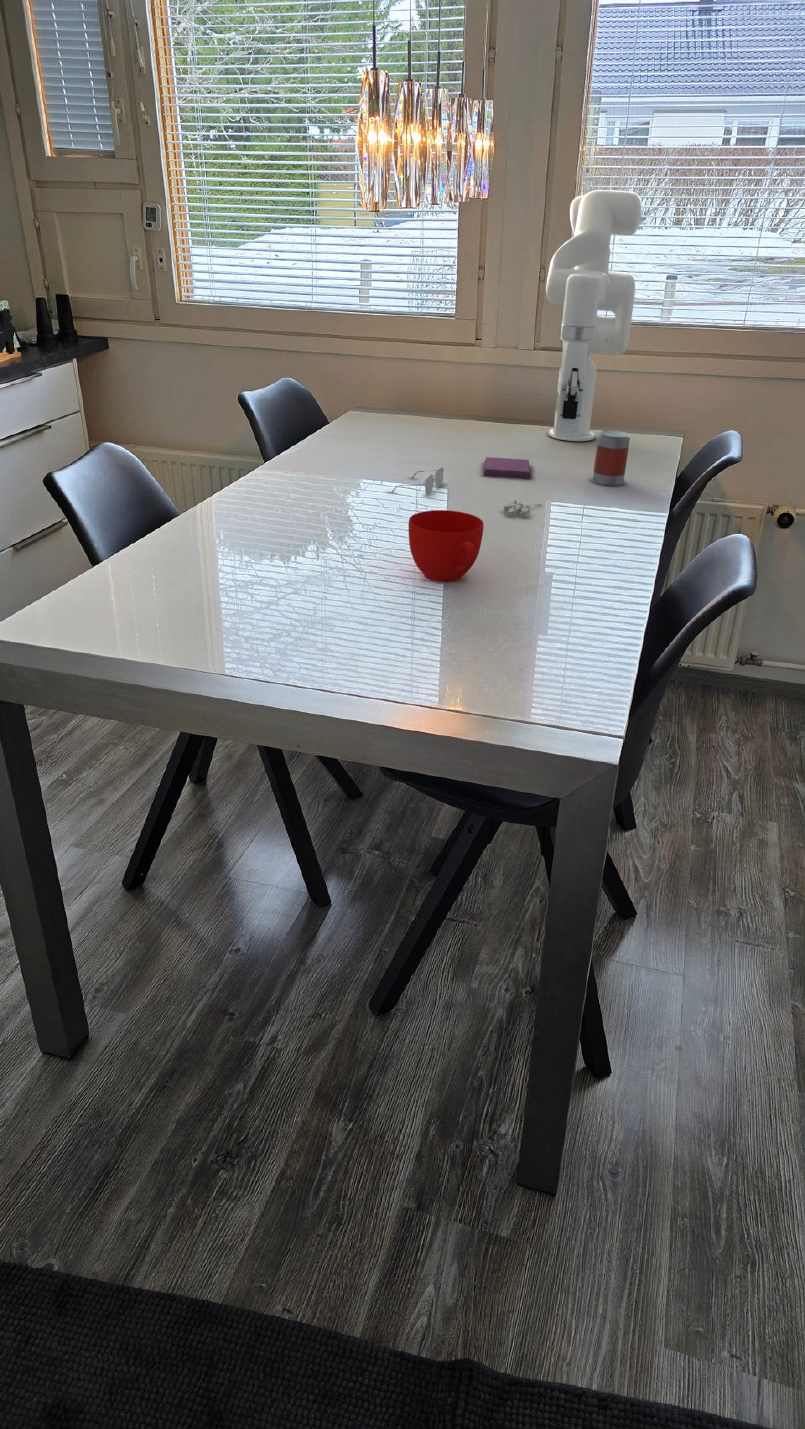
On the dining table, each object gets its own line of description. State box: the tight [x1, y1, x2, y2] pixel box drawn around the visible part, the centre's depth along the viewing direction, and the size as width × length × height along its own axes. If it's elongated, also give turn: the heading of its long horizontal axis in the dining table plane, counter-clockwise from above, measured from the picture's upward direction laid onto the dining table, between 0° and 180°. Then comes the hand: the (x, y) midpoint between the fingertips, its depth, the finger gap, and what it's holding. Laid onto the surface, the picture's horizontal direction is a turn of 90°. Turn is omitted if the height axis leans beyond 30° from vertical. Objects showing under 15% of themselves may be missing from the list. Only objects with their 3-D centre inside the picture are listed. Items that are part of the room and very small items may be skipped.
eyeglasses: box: [391, 467, 445, 496], centre depth 226 cm, size 14×8×4 cm, turn 160°
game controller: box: [503, 499, 541, 518], centre depth 213 cm, size 6×12×3 cm, turn 158°
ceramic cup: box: [408, 509, 485, 583], centre depth 173 cm, size 13×17×10 cm
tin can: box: [592, 430, 631, 487], centre depth 235 cm, size 7×7×11 cm
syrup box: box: [553, 368, 586, 438], centre depth 232 cm, size 6×6×14 cm
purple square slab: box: [483, 456, 531, 480], centre depth 242 cm, size 12×11×2 cm
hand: (568, 415), depth 233 cm, fingers closed on syrup box, 6 cm apart
